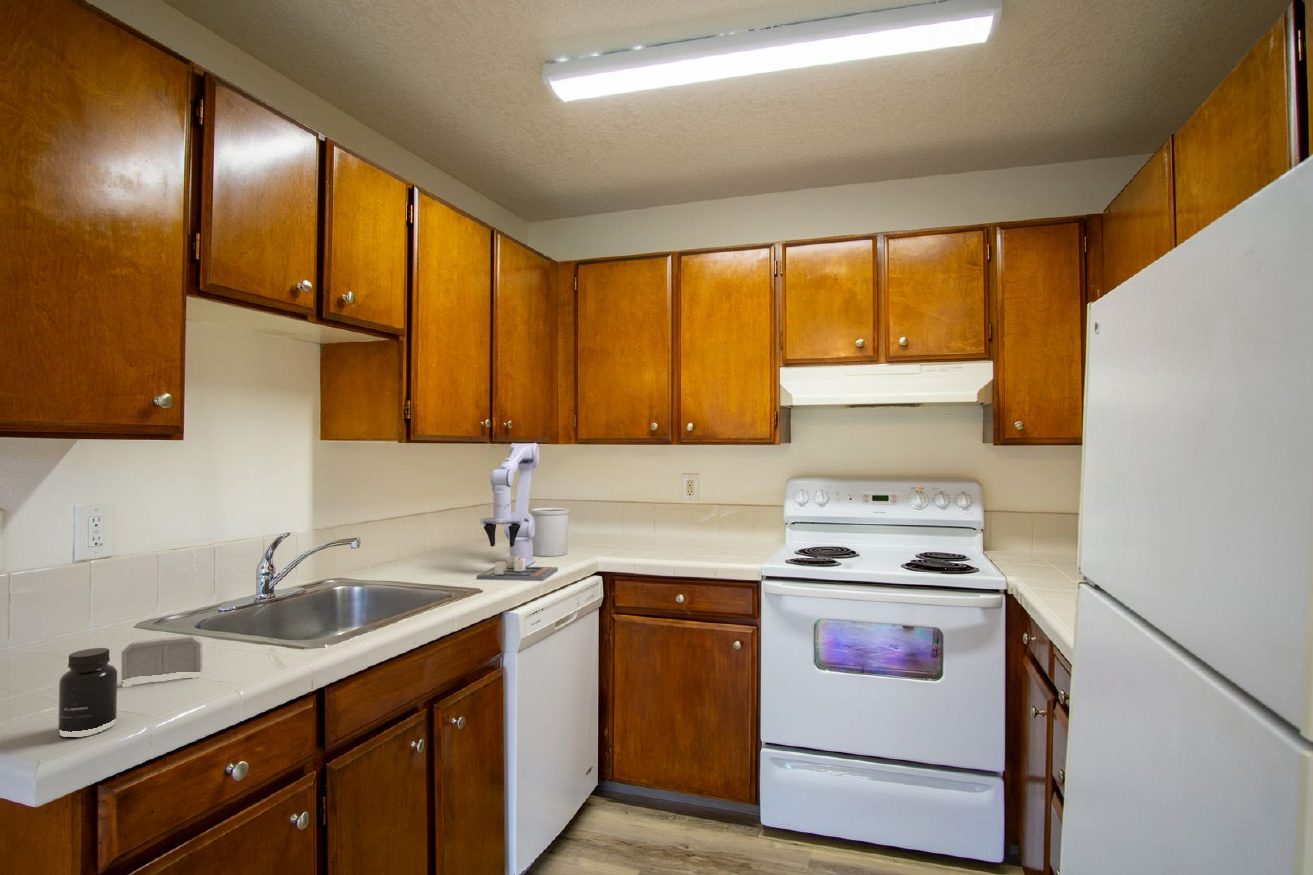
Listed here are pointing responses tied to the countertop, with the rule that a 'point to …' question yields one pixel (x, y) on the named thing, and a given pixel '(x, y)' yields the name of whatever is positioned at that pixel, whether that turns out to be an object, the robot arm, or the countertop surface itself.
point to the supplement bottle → (87, 691)
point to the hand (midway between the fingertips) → (502, 546)
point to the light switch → (162, 656)
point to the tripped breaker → (519, 564)
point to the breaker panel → (516, 572)
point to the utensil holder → (550, 531)
